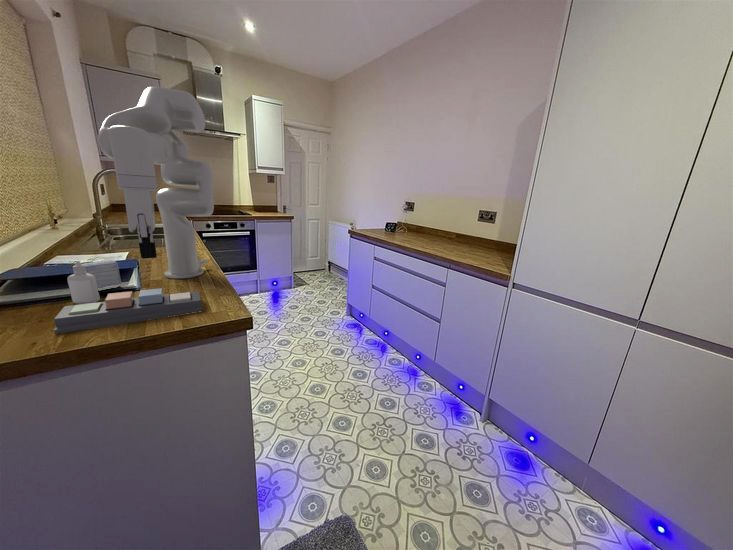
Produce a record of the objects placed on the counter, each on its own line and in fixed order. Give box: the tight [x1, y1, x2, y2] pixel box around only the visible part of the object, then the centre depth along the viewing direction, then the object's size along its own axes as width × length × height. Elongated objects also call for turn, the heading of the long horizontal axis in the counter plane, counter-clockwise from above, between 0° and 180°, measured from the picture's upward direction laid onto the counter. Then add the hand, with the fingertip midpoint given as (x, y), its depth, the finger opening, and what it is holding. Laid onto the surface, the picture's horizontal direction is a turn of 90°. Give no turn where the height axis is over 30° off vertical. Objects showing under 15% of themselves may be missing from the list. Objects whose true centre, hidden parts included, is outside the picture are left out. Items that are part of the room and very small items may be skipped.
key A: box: [170, 291, 191, 303], centre depth 81 cm, size 5×5×2 cm
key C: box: [70, 301, 102, 315], centre depth 71 cm, size 5×5×2 cm
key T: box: [137, 287, 164, 305], centre depth 77 cm, size 5×5×2 cm
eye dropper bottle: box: [66, 260, 101, 305], centre depth 80 cm, size 4×6×12 cm
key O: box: [104, 291, 134, 309], centre depth 74 cm, size 5×5×2 cm
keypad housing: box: [53, 290, 203, 335], centre depth 76 cm, size 29×11×3 cm, turn 123°
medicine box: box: [81, 259, 122, 288], centre depth 90 cm, size 8×4×9 cm, turn 149°
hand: (149, 257), depth 74 cm, fingers closed
